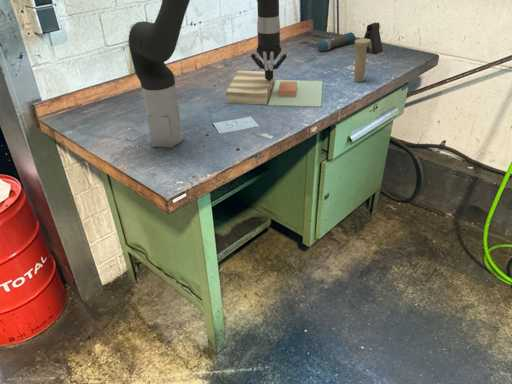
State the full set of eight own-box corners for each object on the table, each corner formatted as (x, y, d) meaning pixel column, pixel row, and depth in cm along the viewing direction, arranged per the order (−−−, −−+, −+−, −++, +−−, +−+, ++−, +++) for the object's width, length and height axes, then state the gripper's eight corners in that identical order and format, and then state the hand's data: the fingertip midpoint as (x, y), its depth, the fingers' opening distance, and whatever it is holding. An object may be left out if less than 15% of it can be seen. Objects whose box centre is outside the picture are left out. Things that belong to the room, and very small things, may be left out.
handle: (348, 82, 162) (352, 41, 154) (357, 77, 166) (361, 37, 158) (359, 84, 160) (364, 43, 151) (368, 80, 164) (373, 39, 155)
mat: (321, 107, 144) (321, 106, 144) (267, 105, 146) (267, 104, 146) (322, 82, 163) (322, 81, 163) (275, 80, 166) (275, 79, 166)
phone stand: (358, 51, 195) (361, 23, 188) (365, 47, 198) (368, 20, 191) (375, 54, 189) (379, 26, 183) (382, 51, 193) (386, 23, 186)
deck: (266, 104, 147) (266, 93, 145) (226, 103, 149) (226, 92, 147) (274, 81, 165) (274, 71, 163) (238, 81, 167) (237, 70, 165)
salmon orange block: (278, 90, 150) (278, 96, 151) (295, 90, 149) (295, 97, 151) (280, 81, 157) (280, 87, 159) (296, 81, 157) (296, 87, 158)
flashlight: (354, 43, 205) (355, 33, 202) (323, 53, 194) (323, 42, 191) (346, 41, 208) (347, 31, 205) (315, 51, 197) (315, 40, 194)
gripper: (247, 32, 141) (249, 83, 151) (287, 32, 139) (287, 84, 149) (250, 26, 147) (252, 76, 157) (289, 26, 145) (288, 76, 155)
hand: (269, 80), depth 153 cm, fingers closed
